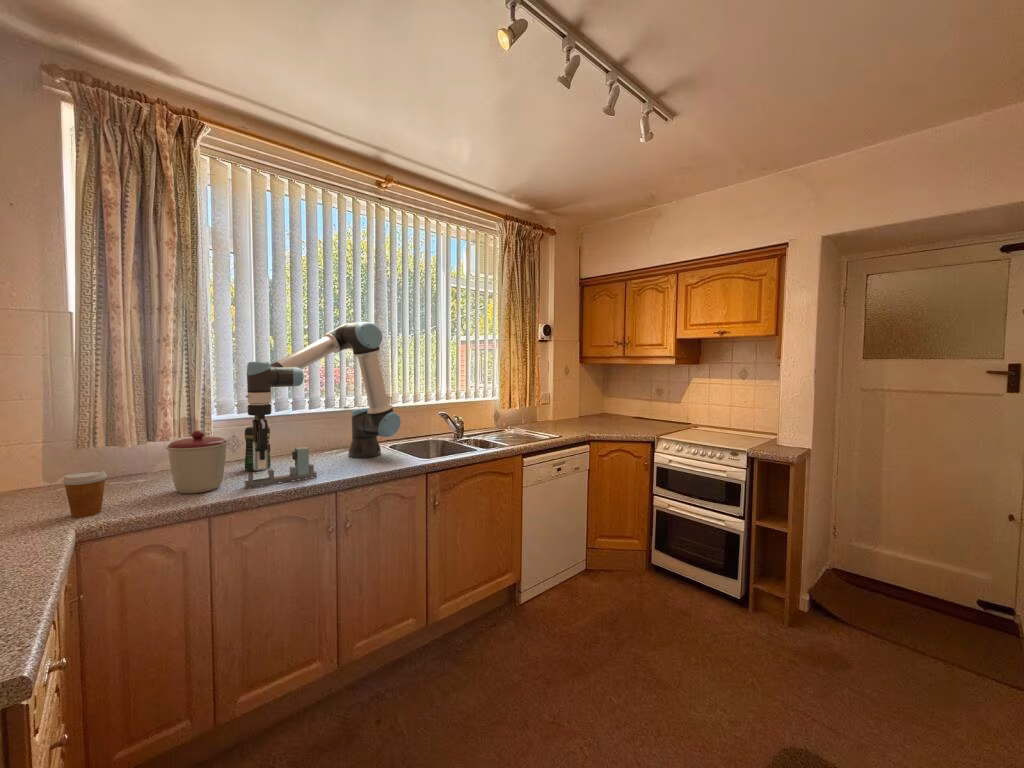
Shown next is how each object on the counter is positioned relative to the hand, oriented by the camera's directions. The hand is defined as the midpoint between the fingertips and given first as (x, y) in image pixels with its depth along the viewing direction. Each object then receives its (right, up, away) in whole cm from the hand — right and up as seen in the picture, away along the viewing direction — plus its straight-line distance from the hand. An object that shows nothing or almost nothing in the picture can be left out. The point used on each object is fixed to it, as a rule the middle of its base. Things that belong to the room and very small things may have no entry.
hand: (260, 467), depth 160 cm
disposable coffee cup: (-34, -8, -31) cm, 46 cm away
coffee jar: (-15, -6, +24) cm, 29 cm away
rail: (+5, -6, +5) cm, 10 cm away
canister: (-18, -7, -6) cm, 20 cm away
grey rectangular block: (0, -1, 0) cm, 1 cm away
